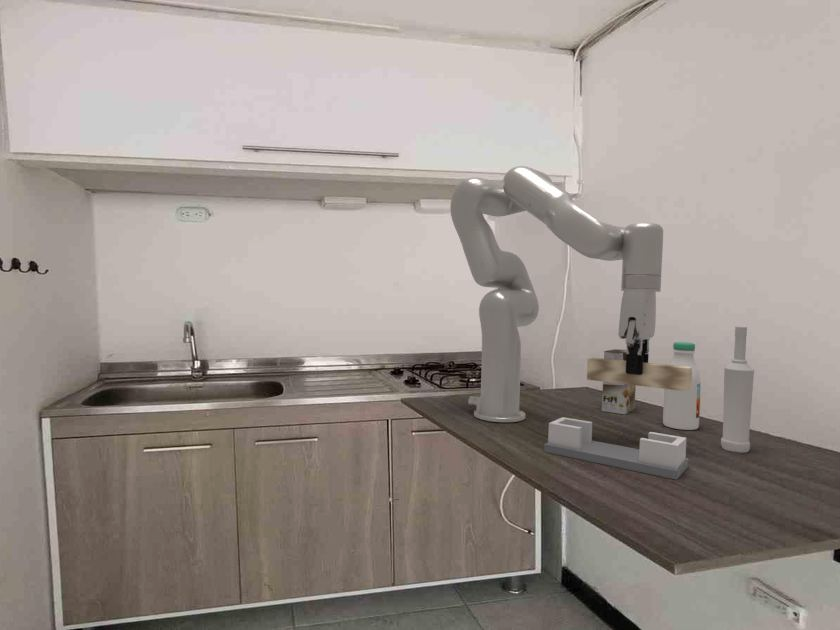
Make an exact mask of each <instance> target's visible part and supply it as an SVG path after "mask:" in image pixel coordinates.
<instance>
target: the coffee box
mask: <svg viewBox="0 0 840 630" xmlns="http://www.w3.org/2000/svg"><path fill="white" fill-rule="evenodd" d="M626 350H627V349H615V348H614V349H609V350H604V351H603V352H604V355H603V359H612V360H623V361H626ZM636 386H637V385H629V384H620V383H612V382H603V381H602V396H601V397H602V399H601V401H602V402H601V412H606V413H611V414H619V415H626V414H629V413H630V412H632V411H634V410H635V409H636V388H637V387H636Z"/></svg>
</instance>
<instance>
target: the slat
mask: <svg viewBox="0 0 840 630" xmlns="http://www.w3.org/2000/svg"><path fill="white" fill-rule="evenodd" d="M586 380H588V381H598V382H602V383H603V382H612V383H620V384H629V385H636V386H637V387H638V386H639V387H646V388H653V389H654V388H655V389H662V390H663V389H671V390H679V391H690V390H691V382H692V367H688V366H677V365H670V364H666V363H665V364H664V363H656V362H655V363H654V362H648V363H645V362H643V373H642V375H634V374H627V373H626V361H623V360H612V359H604V358H599V357H589V358H587V366H586Z"/></svg>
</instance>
